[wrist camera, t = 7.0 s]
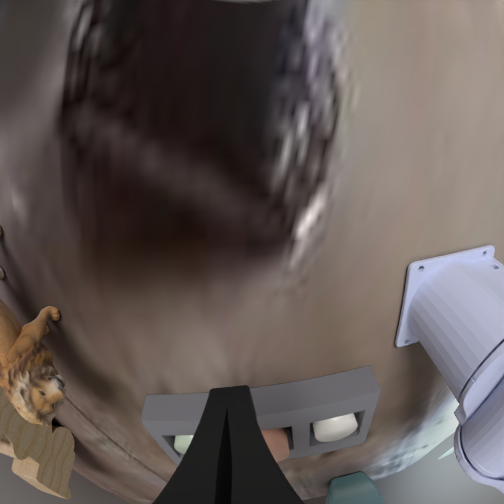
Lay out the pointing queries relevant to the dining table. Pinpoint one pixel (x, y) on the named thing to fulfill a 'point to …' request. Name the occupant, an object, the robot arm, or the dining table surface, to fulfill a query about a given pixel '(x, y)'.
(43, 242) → the dining table surface
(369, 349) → the dining table surface
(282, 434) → the terracotta button
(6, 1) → the dining table surface
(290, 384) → the button panel
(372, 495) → the flower pot
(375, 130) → the dining table surface
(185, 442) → the sage button
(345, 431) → the cream button
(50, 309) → the lion figurine
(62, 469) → the toy train
